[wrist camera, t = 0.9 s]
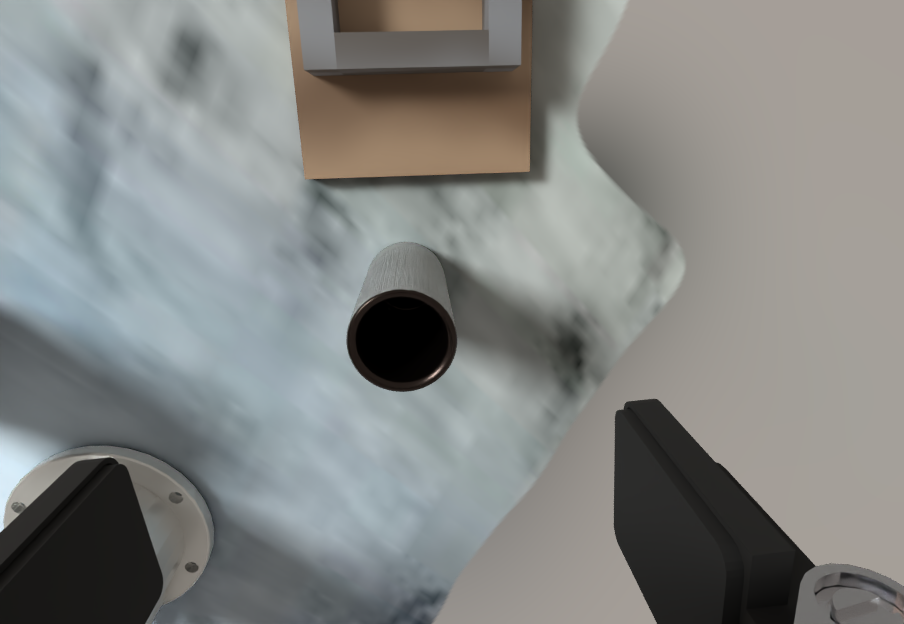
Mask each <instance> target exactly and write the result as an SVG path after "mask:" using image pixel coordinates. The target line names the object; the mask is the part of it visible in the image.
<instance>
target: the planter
mask: <svg viewBox="0 0 904 624" xmlns="http://www.w3.org/2000/svg"><path fill="white" fill-rule="evenodd" d="M346 342H347V350H348V354H349V357H350V359H351V361H352V363H353V365H354V367H355V368H356V369H357V371H358V372H359V373H360V374H361V375H362V376H363V377H364V378H365V379H366V380H368V381H369V382H371V383H372V384H374V385H376V386H378V387H380V388H383V389H386V390H391V391H398V392H406V391H414V390H418V389H421V388H424V387H426V386H428V385H430V384H432V383H433V382H435V381H436V380H438V379H439V378H440V377H441V376H442V375H443V374H444V373H445V372H446V371H447V369H448V368H449V366H450V365H451V363H452V361H453V359H454V356H455V353H456V348H457V332H456V326H455V321H454V317H453V312H452V307H451V302H450V298H449V293H448V288H447V283H446V279H445V274H444V270H443V268H442V265H441V263H440V261H439V260H438V258H437V257H436V256H435V255H434V253H432V252H431V251H430V250H429V249H427V248H426V247H424V246H422V245H419V244H416V243H412V242H400V243H395V244H392V245H390V246H388V247H386V248H384V249H383V250H382V251H380V252H379V253H378V254H377V255H376V257H375V258H374V260H373V261H372V263H371V265H370V267H369V269H368V272H367V275H366V278H365V281H364V283H363V286H362V289H361V292H360V294H359V297H358V300H357V303H356V306H355V308H354V311H353V314H352V317H351V319H350V322H349V326H348V330H347V337H346Z"/></svg>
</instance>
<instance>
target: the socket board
mask: <svg viewBox="0 0 904 624" xmlns="http://www.w3.org/2000/svg"><path fill="white" fill-rule="evenodd" d="M285 4H286V13H287V22H288V31H289V40H290V49H291V58H292V67H293V76H294V85H295V94H296V103H297V112H298V121H299V130H300V139H301V148H302V157H303V166H304V175H305V179H326V178H356V177H386V176H416V175H446V174H476V173H506V172H530V120H531V60H532V0H285Z"/></svg>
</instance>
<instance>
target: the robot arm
mask: <svg viewBox="0 0 904 624" xmlns="http://www.w3.org/2000/svg"><path fill="white" fill-rule="evenodd" d="M614 474H615V476H614V530H615V535H616V539H617V542H618V544H619V546H620V549H621V551H622V553H623V555H624V557H625V559H626V561H627V563H628V565H629V567H630V569H631V571H632V573H633V575H634V577H635V579H636V581H637V583H638V585H639V587H640V590H641V592H642V593H643V596H644V598H645V600H646V602H647V604H648V606H649V608H650V610H651V612H652V614H653V616H654V618H655V620H656V622H657V624H904V586H902V585H901V584H899V583H897V582H896V581H894V580H892V579H891V578H888V577H886V576H883V575H881V574H879V573H876V572H874V571H871V570H869V569H865V568H861V567H857V566H853V565H848V564H825V565H820V566H815V565H814V564H813V563H812V562H811V561H810V559H809V558H808V557H807V556H806V555H805V554H804V553H803V552H802V551H801V550H800V549H799V548H798V547H797V545H796V544H795V543H794V542H793V541H792V540H791V539H790V538H789V537H788V536H787V535H786V534H785V532H784V531H783V530H782V529H781V528H780V527H779V526H778V525H777V524H776V523H775V522H774V521H773V519H772V518H771V517H770V516H769V515H768V514H767V513H766V512H765V511H764V510H763V509H762V508H761V506H760V505H759V504H758V503H757V502H756V501H755V500H754V499H753V498H752V497H751V496H750V495H749V493H748V492H747V491H746V490H745V489H744V488H743V487H742V486H741V485H740V484H739V483H738V482H737V480H735V478H734V477H733V476H732V475H731V474H730V473H729V472H728V471H727V470H726V469H725V468H724V467H723V466H722V465H721V464H719V463H716V462H714V460H713V459H712V458H711V457H710V456H709V455H708V454H707V453H706V452H705V451H704V449H703V448H702V447H701V446H700V445H699V444H698V443H697V442H696V441H695V440H694V439H693V437H691V435H690V434H689V433H688V432H687V431H686V430H685V429H684V428H683V426H682V425H681V424H680V423H679V422H678V421H677V420H676V419H675V418H674V416H673V415H672V414H671V413H670V412H669V411H668V410H667V409H666V408H665V407H664V406H663V404H662V403H661V402H660V401H659V400H657V399H648V400H638V401H629V402H626V403H625V406H624V410H618V411H617V412H616V416H615V472H614ZM3 523H4V530H3V531H2V532H0V624H152V622H153V620H154V618H155V616H156V615H157V613H158V611H159V609H160V607H161V606H163V605H165V604H168V603H170V602H172V601H173V600H175V599H177V598H179V597H180V596H182V595H183V594H184V593H185V592H186V591H188V590H189V589H190V588H191V587H192V586H193V585H194V584H195V583H196V581H197V580H198V579H199V577H200V576H201V574H202V573H203V571H204V569H205V567H206V565H207V563H208V561H209V559H210V556H211V552H212V549H213V545H214V526H213V521H212V516H211V513H210V511H209V509H208V507H207V504H206V502H205V500H204V499H203V497H202V496H201V495H200V493H199V492H198V490H197V489H196V488H195V486H194V485H193V484H192V483H191V482H190V481H189V480H188V479H187V478H185V477H184V476H183V475H182V474H181V473H180V472H178V471H177V470H175V469H174V468H173V467H171V466H170V465H168V464H167V463H165V462H163V461H161V460H159V459H157V458H154V457H152V456H150V455H148V454H145V453H142V452H138V451H135V450H132V449H128V448H122V447H114V446H85V447H79V448H74V449H69V450H66V451H63V452H61V453H58V454H56V455H53V456H51V457H49V458H48V459H46V460H44V461H43V462H41V463H40V464H38V465H37V466H36V467H34V468H33V469H32V470H31V471H30V472H29V473H28V474H27V475H25V476H24V477H23V478H22V479H21V480H20V481H19V483H18V484H17V485H16V487H15V488H14V489H13V490H12V492H11V494H10V496H9V498H8V500H7V503H6V506H5V513H4V519H3Z"/></svg>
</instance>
